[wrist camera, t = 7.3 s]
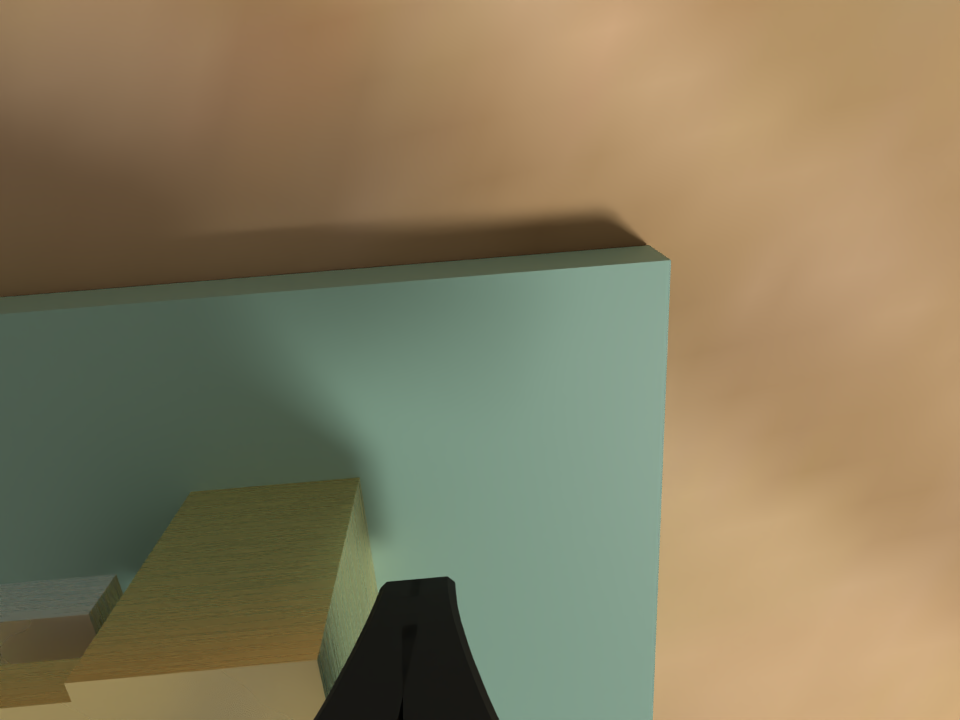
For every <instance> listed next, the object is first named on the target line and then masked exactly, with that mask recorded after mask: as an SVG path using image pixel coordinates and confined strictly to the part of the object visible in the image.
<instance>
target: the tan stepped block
mask: <svg viewBox="0 0 960 720" xmlns="http://www.w3.org/2000/svg"><path fill="white" fill-rule="evenodd" d="M377 595H378V589H377V583H376V577H375V571H374V564H373V558H372V552H371V546H370V540H369V533H368V527H367V521H366V515H365V508H364V502H363V496H362V490H361V484H360V477H356V478H344V479H333V480H321V481H310V482H298V483H287V484H276V485H264V486H253V487H241V488H230V489H218V490H207V491H195V492H190V494H189V495H188V497H187V498H186V500H185V501H184V503H183V504H182V506H181V507H180V509H179V510H178V512H177V513H176V515H175V517H174V518H173V520H172V521H171V523H170V524H169V526H168V527H167V529H166V530H165V532H164V533H163V535H162V536H161V538H160V539H159V541H158V542H157V544H156V545H155V547H154V548H153V550H152V551H151V553H150V554H149V556H148V557H147V559H146V560H145V562H144V563H143V565H142V566H141V568H140V569H139V571H138V572H137V574H136V575H135V577H134V578H133V580H132V581H131V583H130V584H129V586H128V588H127V589H126V591H125V592H124V594H123V595H122V597H121V598H120V600H119V601H118V603H117V604H116V606H115V607H114V609H113V610H112V612H111V613H110V615H109V616H108V618H107V619H106V621H105V622H104V624H103V625H102V627H101V628H100V630H99V631H98V633H97V634H96V636H95V637H94V639H93V640H92V642H91V643H90V645H89V646H88V648H87V649H86V651H85V652H84V654H83V656H82V657H81V658H73V659H62V660H51V661H40V662H30V663H19V664H8V665H0V720H314V718H315V716H316V715H317V713H318V711H319V710H320V708H321V706H322V705H323V703H324V701H325V699H326V698H327V696H328V694H329V692H330V690H331V689H332V687H333V685H334V683H335V681H336V679H337V678H338V676H339V674H340V672H341V670H342V668H343V667H344V665H345V663H346V661H347V659H348V657H349V656H350V654H351V652H352V650H353V648H354V646H355V644H356V642H357V640H358V638H359V636H360V633H361V631H362V629H363V627H364V625H365V623H366V621H367V619H368V616H369V614H370V612H371V610H372V607H373V605H374V603H375V600H376V598H377Z"/></svg>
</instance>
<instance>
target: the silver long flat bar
mask: <svg viewBox="0 0 960 720" xmlns="http://www.w3.org/2000/svg"><path fill="white" fill-rule="evenodd" d="M122 595H123V592H122V589H121V586H120V583H119V580H118V578H117V575H116V574H110V575H99V576H88V577H77V578H66V579H55V580H43V581H32V582H21V583H10V584H0V665H8V664H19V663H30V662H40V661H51V660H62V659H73V658H81V657H82V656H83V654H84V652H85V651H86V649H87V648H88V646H89V645H90V643H91V642H92V640H93V639H94V637H95V636H96V634H97V633H98V631H99V630H100V628H101V627H102V625H103V624H104V622H105V621H106V619H107V618H108V616H109V615H110V613H111V612H112V610H113V609H114V607H115V606H116V604H117V603H118V601H119V600H120V598H121V597H122Z"/></svg>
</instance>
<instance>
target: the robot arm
mask: <svg viewBox="0 0 960 720" xmlns="http://www.w3.org/2000/svg"><path fill="white" fill-rule="evenodd" d="M314 720H499V718H498V716H497V714H496V712H495V709H494V707H493V705H492V703H491V700H490V698H489V696H488V694H487V691H486V689H485V686H484V684H483V681H482V679H481V676H480V674H479V671H478V669H477V666H476V664H475V661H474V659H473V656H472V653H471V650H470V647H469V645H468V641H467V638H466V635H465V632H464V628H463V625H462V622H461V618H460V614H459V610H458V604H457V595H456V585H455V581H453V580H452V579H451V578H449V577H448V576H445V577H434V578H423V579H411V580H400V581H389V582H386V583H385V584H384V585H383V586H382V587H381V588H380V590H379V593H378V595H377V598H376V600H375V603H374V605H373V607H372V610H371V612H370V614H369V616H368V619H367V621H366V623H365V625H364V627H363V629H362V631H361V633H360V636H359V638H358V640H357V642H356V644H355V646H354V648H353V650H352V652H351V654H350V656H349V657H348V659H347V661H346V663H345V665H344V667H343V668H342V670H341V672H340V674H339V676H338V678H337V679H336V681H335V683H334V685H333V687H332V689H331V690H330V692H329V694H328V696H327V698H326V699H325V701H324V703H323V705H322V706H321V708H320V710H319V711H318V713H317V715H316V716H315V718H314Z"/></svg>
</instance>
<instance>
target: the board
mask: <svg viewBox="0 0 960 720" xmlns="http://www.w3.org/2000/svg"><path fill="white" fill-rule="evenodd" d="M670 269H671V260H670V259H668V258H667V257H665V256H664V255H663V254H661V253H660V252H658V251H657V250H655V249H654V248H652V247H651V246H649V245H646V246H634V247H621V248H609V249H596V250H584V251H571V252H559V253H546V254H534V255H521V256H509V257H496V258H484V259H471V260H459V261H446V262H434V263H421V264H409V265H396V266H384V267H372V268H359V269H347V270H334V271H322V272H309V273H297V274H284V275H272V276H259V277H247V278H234V279H222V280H209V281H197V282H184V283H172V284H159V285H147V286H134V287H122V288H109V289H97V290H84V291H72V292H59V293H47V294H34V295H22V296H9V297H0V584H10V583H21V582H32V581H43V580H55V579H66V578H77V577H88V576H99V575H110V574H116V575H117V578H118V580H119V583H120V586H121V589H122V592H123V594H124V592H125V591H126V589H127V588H128V586H129V584H130V583H131V581H132V580H133V578H134V577H135V575H136V574H137V572H138V571H139V569H140V568H141V566H142V565H143V563H144V562H145V560H146V559H147V557H148V556H149V554H150V553H151V551H152V550H153V548H154V547H155V545H156V544H157V542H158V541H159V539H160V538H161V536H162V535H163V533H164V532H165V530H166V529H167V527H168V526H169V524H170V523H171V521H172V520H173V518H174V517H175V515H176V513H177V512H178V510H179V509H180V507H181V506H182V504H183V503H184V501H185V500H186V498H187V497H188V495H189V494H190V492H195V491H207V490H218V489H230V488H241V487H253V486H264V485H276V484H287V483H298V482H310V481H321V480H333V479H344V478H356V477H360V484H361V490H362V496H363V502H364V508H365V515H366V521H367V527H368V533H369V540H370V546H371V552H372V558H373V564H374V571H375V577H376V583H377V589H378V593H379V590H380V588H381V587H382V586H383V585H384V584H385V583H386V582H389V581H400V580H411V579H423V578H434V577H445V576H448V577H449V578H451V579H452V580H453V581H455V585H456V595H457V604H458V610H459V614H460V618H461V622H462V625H463V628H464V632H465V635H466V638H467V641H468V645H469V647H470V650H471V653H472V656H473V659H474V661H475V664H476V666H477V669H478V671H479V674H480V676H481V679H482V681H483V684H484V686H485V689H486V691H487V694H488V696H489V698H490V700H491V703H492V705H493V707H494V709H495V712H496V714H497V716H498V718H499V720H653V695H654V670H655V645H656V620H657V595H658V570H659V545H660V520H661V494H662V469H663V444H664V419H665V394H666V369H667V344H668V319H669V294H670Z"/></svg>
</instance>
